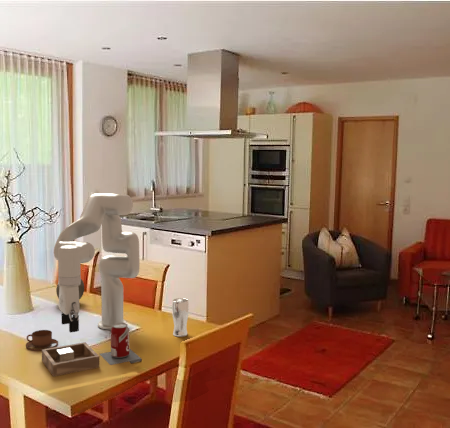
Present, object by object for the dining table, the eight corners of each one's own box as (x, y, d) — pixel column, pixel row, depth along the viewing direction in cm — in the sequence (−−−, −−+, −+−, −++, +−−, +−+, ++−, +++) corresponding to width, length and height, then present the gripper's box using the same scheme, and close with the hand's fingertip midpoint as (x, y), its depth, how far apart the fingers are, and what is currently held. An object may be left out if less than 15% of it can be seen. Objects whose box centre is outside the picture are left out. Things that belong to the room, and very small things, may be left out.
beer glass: (185, 337, 217) (186, 303, 215) (169, 336, 218) (170, 301, 217) (190, 332, 224) (190, 298, 222) (174, 331, 225) (175, 297, 224)
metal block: (56, 360, 188) (56, 349, 187) (70, 357, 190) (70, 347, 190) (60, 365, 184) (59, 354, 183) (74, 362, 186) (73, 351, 186)
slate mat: (99, 356, 195) (99, 353, 195) (129, 350, 201) (129, 348, 201) (110, 367, 185) (110, 364, 185) (141, 361, 191) (141, 358, 191)
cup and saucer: (24, 355, 195) (23, 339, 194) (27, 343, 207) (27, 329, 206) (57, 352, 198) (57, 337, 198) (58, 341, 210) (58, 327, 209)
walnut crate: (41, 362, 188) (41, 349, 187) (85, 354, 196) (85, 342, 196) (53, 379, 174) (53, 365, 174) (99, 369, 183) (99, 356, 182)
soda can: (113, 360, 189) (113, 328, 187) (108, 354, 195) (108, 323, 193) (131, 357, 192) (131, 326, 190) (126, 351, 198) (126, 321, 196)
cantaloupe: (50, 305, 260) (49, 275, 258) (72, 299, 271) (72, 271, 270) (68, 310, 252) (67, 280, 250) (90, 304, 263) (90, 275, 262)
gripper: (52, 276, 187) (53, 322, 189) (65, 287, 173) (66, 336, 174) (73, 274, 191) (73, 319, 193) (87, 284, 177) (88, 333, 178)
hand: (70, 327), depth 184 cm, fingers open, 9 cm apart
